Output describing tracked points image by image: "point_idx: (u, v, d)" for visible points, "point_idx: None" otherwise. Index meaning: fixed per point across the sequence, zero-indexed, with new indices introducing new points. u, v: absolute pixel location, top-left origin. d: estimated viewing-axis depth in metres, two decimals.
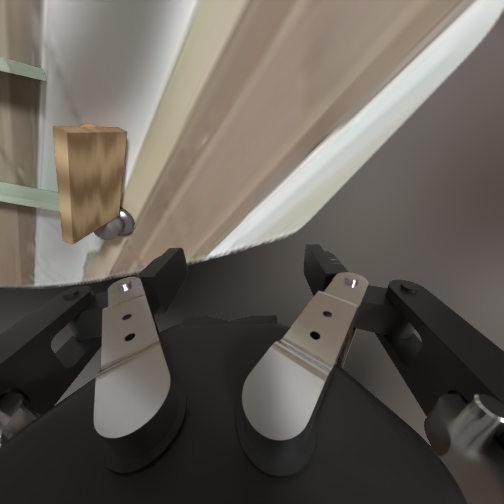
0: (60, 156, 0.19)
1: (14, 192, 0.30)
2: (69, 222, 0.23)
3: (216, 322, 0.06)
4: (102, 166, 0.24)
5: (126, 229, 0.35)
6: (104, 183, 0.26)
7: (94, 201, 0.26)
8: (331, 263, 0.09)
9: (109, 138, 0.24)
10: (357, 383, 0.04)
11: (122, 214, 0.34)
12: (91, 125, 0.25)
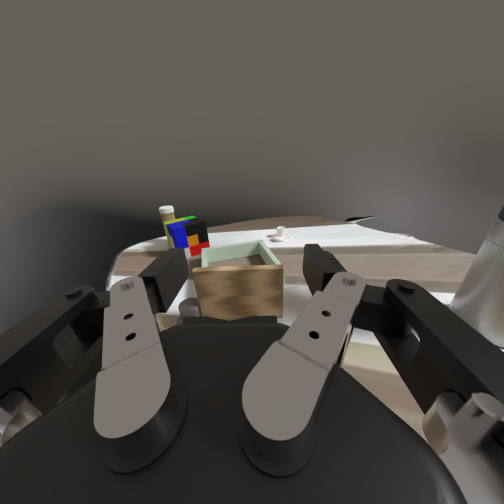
0: (266, 266, 0.29)
1: None
2: (214, 269, 0.29)
3: (216, 321, 0.06)
4: (257, 296, 0.30)
5: None
6: (241, 299, 0.31)
7: (227, 290, 0.30)
8: (329, 263, 0.09)
9: (278, 301, 0.31)
10: (357, 383, 0.04)
11: None
12: None
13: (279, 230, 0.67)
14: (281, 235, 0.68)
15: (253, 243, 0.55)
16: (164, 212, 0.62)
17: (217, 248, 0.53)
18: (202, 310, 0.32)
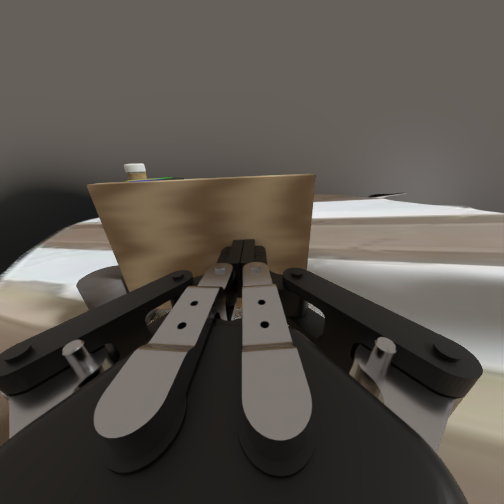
0: (270, 176, 0.12)
1: None
2: (142, 182, 0.12)
3: (216, 322, 0.06)
4: None
5: None
6: (214, 263, 0.14)
7: (180, 240, 0.13)
8: (251, 255, 0.10)
9: (296, 267, 0.14)
10: (357, 383, 0.04)
11: None
12: None
13: None
14: None
15: None
16: (130, 170, 0.46)
17: None
18: (131, 289, 0.15)
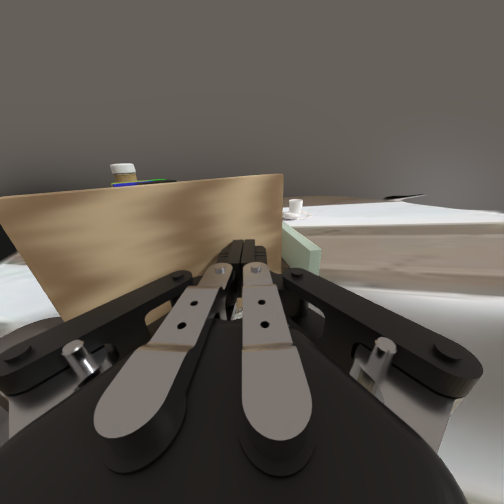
0: (245, 176, 0.12)
1: None
2: (98, 189, 0.09)
3: (216, 321, 0.06)
4: None
5: (8, 423, 0.09)
6: (201, 273, 0.13)
7: (159, 256, 0.11)
8: (252, 255, 0.10)
9: (274, 257, 0.15)
10: (357, 383, 0.04)
11: None
12: None
13: (293, 203, 0.44)
14: (295, 211, 0.45)
15: None
16: (117, 171, 0.40)
17: None
18: None
